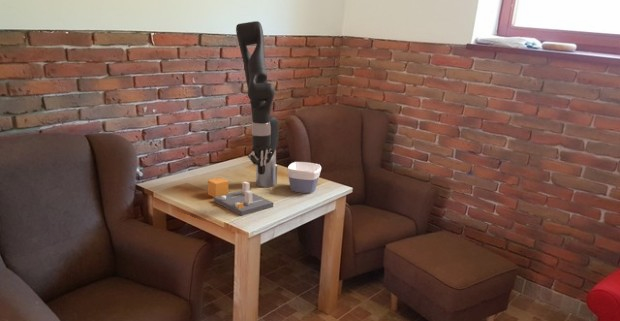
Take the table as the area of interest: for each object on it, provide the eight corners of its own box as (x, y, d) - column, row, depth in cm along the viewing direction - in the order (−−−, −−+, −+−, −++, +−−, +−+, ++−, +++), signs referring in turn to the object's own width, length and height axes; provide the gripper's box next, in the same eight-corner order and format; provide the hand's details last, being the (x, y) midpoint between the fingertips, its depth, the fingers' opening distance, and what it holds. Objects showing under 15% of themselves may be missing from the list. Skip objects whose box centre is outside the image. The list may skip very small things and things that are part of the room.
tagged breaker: (248, 201, 191) (249, 189, 189) (253, 203, 189) (254, 191, 187) (243, 203, 189) (243, 191, 187) (248, 205, 186) (248, 193, 185)
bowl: (322, 186, 221) (323, 163, 218) (315, 196, 207) (317, 172, 204) (292, 182, 225) (292, 160, 222) (283, 192, 210) (283, 169, 207)
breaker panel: (244, 193, 206) (244, 185, 205) (273, 206, 192) (273, 197, 191) (213, 201, 195) (213, 192, 194) (241, 215, 181) (241, 206, 180)
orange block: (220, 191, 207) (220, 177, 206) (228, 195, 203) (228, 181, 201) (207, 194, 203) (207, 180, 201) (215, 198, 199) (215, 183, 197)
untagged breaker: (246, 192, 202) (246, 180, 200) (251, 194, 199) (251, 182, 198) (240, 193, 200) (240, 182, 198) (245, 195, 197) (245, 184, 196)
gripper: (267, 129, 191) (267, 168, 196) (242, 133, 182) (242, 175, 187) (279, 132, 186) (279, 172, 191) (254, 137, 177) (254, 179, 182)
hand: (261, 173), depth 189 cm, fingers closed
